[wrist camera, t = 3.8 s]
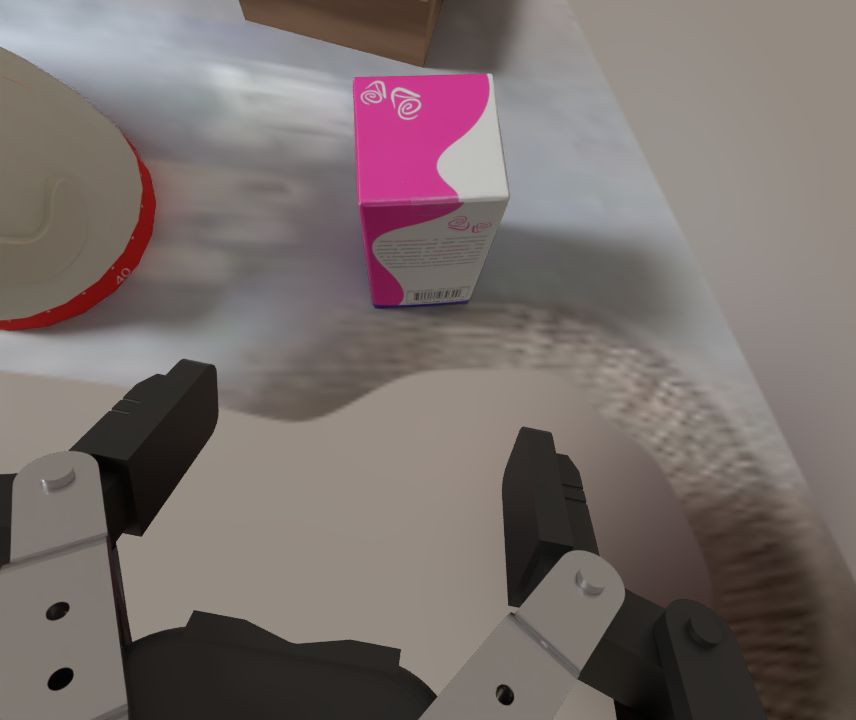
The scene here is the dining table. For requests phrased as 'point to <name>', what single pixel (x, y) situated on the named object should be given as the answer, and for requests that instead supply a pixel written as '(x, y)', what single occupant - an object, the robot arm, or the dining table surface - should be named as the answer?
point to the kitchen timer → (63, 200)
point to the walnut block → (355, 23)
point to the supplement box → (427, 184)
